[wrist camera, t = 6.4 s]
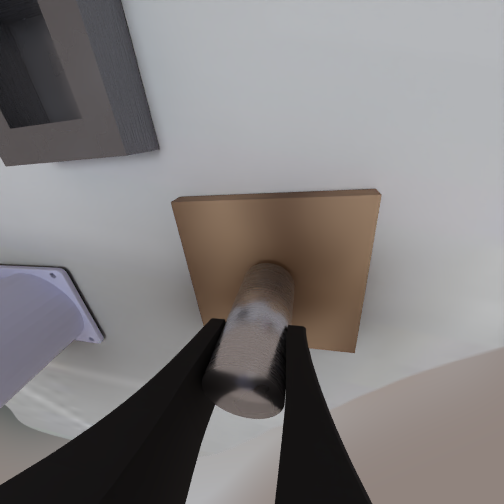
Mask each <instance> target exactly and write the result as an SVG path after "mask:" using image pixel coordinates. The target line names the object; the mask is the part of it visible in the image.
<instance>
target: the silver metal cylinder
mask: <svg viewBox="0 0 504 504" xmlns="http://www.w3.org/2000/svg"><path fill="white" fill-rule="evenodd" d="M294 288H295V285H294V280H293V278H292V276H291V275H290V273H289V272H288V271H287V270H285V269H284V268H282V267H281V266H279V265H276V264H272V263H261V264H257V265H255V266H253V267H251V268H250V269H249V270H248V271H247V272H246V274H245V277H244V279H243V281H242V284H241V286H240V289H239V291H238V294H237V296H236V298H235V301H234V303H233V306H232V308H231V310H230V313H229V315H228V318H227V320H226V323H225V325H224V327H223V330H222V332H221V335H220V337H219V340H218V342H217V344H216V347H215V349H214V352H213V354H212V357H211V359H210V361H209V364H208V366H207V369H206V371H205V374H204V376H203V378H202V388H203V391H204V393H205V394H206V396H207V397H208V398H209V399H210V400H211V401H212V402H213V403H214V404H216V405H217V406H218V407H220V408H222V409H224V410H225V411H227V412H230V413H232V414H235V415H238V416H241V417H246V418H253V419H264V418H270V417H273V416H275V415H277V414H279V413H280V412H281V411H282V409H283V407H284V403H285V391H286V335H287V329H288V325H291V322H292V311H293V299H294Z"/></svg>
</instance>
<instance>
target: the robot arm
mask: <svg viewBox="0 0 504 504" xmlns="http://www.w3.org/2000/svg"><path fill="white" fill-rule="evenodd" d="M225 323H226V322H225V319H217V318H212V319H210V320H209V321H208V323H207V324H206V325H205V326H204V327H203V328H202V329H201V330H200V331H199V332H198V333H197V334H196V335H195V337H194V338H193V339H192V340H191V341H190V342H189V343H188V344H187V345H186V346H185V347H184V348H183V349H182V350H181V351H180V352H179V353H178V354H177V355H176V356H175V357H174V358H173V359H172V360H171V361H170V362H169V363H168V364H167V365H166V366H165V367H164V368H163V369H162V370H161V371H160V372H158V373H157V374H156V375H155V376H154V377H153V378H152V379H151V380H150V381H149V382H148V383H146V384H145V385H144V386H143V387H142V388H141V389H139V390H138V391H137V392H136V393H135V394H133V395H132V396H131V397H130V398H129V399H127V400H126V401H125V402H124V403H122V404H121V405H120V406H118V407H117V408H116V409H115V410H113V411H112V412H111V413H109V414H108V415H107V416H105V417H104V418H103V419H101V420H100V421H99V422H97V423H96V424H95V425H93V426H92V427H90V428H89V429H87V430H86V431H84V432H83V433H82V434H80V435H79V436H77V437H76V438H74V439H73V440H71V441H70V442H68V443H67V444H65V445H64V446H63V447H61V448H60V449H58V450H56V451H55V452H54V453H52V454H50V455H49V456H47V457H46V458H44V459H42V460H41V461H39V462H37V463H36V464H34V465H33V466H31V467H29V468H28V469H26V470H24V471H23V472H21V473H20V474H18V475H16V476H15V477H13V478H11V479H10V480H8V481H6V482H5V483H3V484H1V485H0V504H185V502H186V498H187V495H188V491H189V487H190V483H191V479H192V475H193V472H194V468H195V464H196V461H197V457H198V453H199V450H200V446H201V443H202V440H203V437H204V434H205V431H206V428H207V425H208V422H209V420H210V417H211V414H212V411H213V409H214V406H215V404H214V403H213V402H212V401H211V400H210V399H209V398H208V397H207V396H206V394H205V393H204V391H203V388H202V378H203V376H204V374H205V371H206V369H207V366H208V364H209V361H210V359H211V357H212V354H213V352H214V349H215V347H216V344H217V342H218V340H219V337H220V335H221V332H222V330H223V327H224V325H225ZM73 340H77V341H85V342H92V343H101V342H102V341H103V340H104V338H103V336H102V334H101V332H100V330H99V329H98V327H97V325H96V323H95V321H94V320H93V318H92V316H91V314H90V313H89V311H88V309H87V307H86V306H85V304H84V302H83V300H82V299H81V297H80V295H79V293H78V291H77V290H76V288H75V286H74V284H73V283H72V281H71V279H70V277H69V276H68V274H67V272H66V271H65V270H64V269H62V268H51V267H28V266H4V265H0V408H1V407H2V406H3V405H4V404H6V403H7V402H8V401H9V400H10V399H11V398H12V397H13V396H14V395H15V394H16V393H17V392H18V391H20V390H21V389H22V388H23V387H24V386H25V385H26V384H27V383H28V382H29V381H30V380H31V379H32V378H33V377H35V376H36V375H37V374H38V373H39V372H40V371H41V370H42V369H43V368H44V367H45V366H46V365H47V364H49V363H50V362H51V361H52V360H53V359H54V358H55V357H56V356H57V355H58V354H59V353H60V352H61V351H62V350H64V349H65V348H66V347H67V346H68V345H69V344H70V343H71V342H72V341H73ZM275 504H372V503H371V500H370V498H369V496H368V494H367V492H366V490H365V488H364V486H363V485H362V482H361V480H360V478H359V476H358V475H357V473H356V471H355V468H354V466H353V464H352V462H351V460H350V458H349V456H348V453H347V451H346V449H345V447H344V445H343V442H342V440H341V438H340V436H339V433H338V431H337V429H336V426H335V424H334V422H333V419H332V417H331V414H330V412H329V409H328V407H327V404H326V401H325V399H324V396H323V393H322V391H321V388H320V385H319V382H318V379H317V376H316V372H315V369H314V366H313V363H312V359H311V355H310V351H309V347H308V342H307V335H306V328H305V327H304V326H296V325H288V329H287V335H286V399H285V413H284V423H283V434H282V443H281V452H280V463H279V471H278V481H277V490H276V499H275Z"/></svg>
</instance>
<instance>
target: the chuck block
mask: <svg viewBox="0 0 504 504" xmlns="http://www.w3.org/2000/svg"><path fill="white" fill-rule="evenodd" d="M157 149H159V146H158V142H157V138H156V134H155V131H154V127H153V123H152V119H151V115H150V112H149V108H148V104H147V100H146V96H145V92H144V89H143V85H142V81H141V77H140V73H139V69H138V66H137V62H136V58H135V54H134V50H133V47H132V43H131V39H130V35H129V31H128V27H127V24H126V20H125V16H124V12H123V8H122V4H121V1H120V0H0V157H1V159H2V161H3V162H4V164H5V166H16V165H27V164H37V163H48V162H59V161H70V160H81V159H92V158H103V157H114V156H125V155H131V154H136V153H142V152H147V151H152V150H157Z"/></svg>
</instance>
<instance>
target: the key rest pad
mask: <svg viewBox="0 0 504 504" xmlns="http://www.w3.org/2000/svg"><path fill="white" fill-rule="evenodd" d="M380 201H381V194H380V193H379V192H378V191H377V190H376V189H362V190H337V191H313V192H288V193H264V194H239V195H215V196H190V197H179V198H177V199H176V200H174V201H172V202H171V205H172V208H173V212H174V216H175V220H176V224H177V227H178V231H179V235H180V239H181V242H182V246H183V250H184V254H185V257H186V261H187V265H188V269H189V272H190V276H191V280H192V284H193V287H194V291H195V295H196V299H197V302H198V306H199V310H200V314H201V317H202V321H203V325H204V326H205V325H206V324H207V323H208V321H209V320H210V319H212V318H217V319H225V322H226V320H227V318H228V315H229V313H230V310H231V308H232V306H233V303H234V301H235V298H236V296H237V294H238V291H239V289H240V286H241V284H242V281H243V279H244V277H245V274H246V272H247V271H248V270H249V269H250V268H251V267H253V266H255V265H257V264H261V263H272V264H276V265H279V266H281V267H282V268H284V269H285V270H287V271H288V272H289V273H290V275H291V276H292V278H293V280H294V285H295V288H294V299H293V311H292V322H291V325H296V326H304V327H305V328H306V335H307V342H308V347H309V348H313V349H322V350H331V351H340V352H349V353H355V348H356V342H357V336H358V331H359V325H360V319H361V313H362V307H363V301H364V295H365V289H366V283H367V277H368V272H369V266H370V260H371V254H372V248H373V242H374V236H375V230H376V224H377V218H378V213H379V207H380Z"/></svg>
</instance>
